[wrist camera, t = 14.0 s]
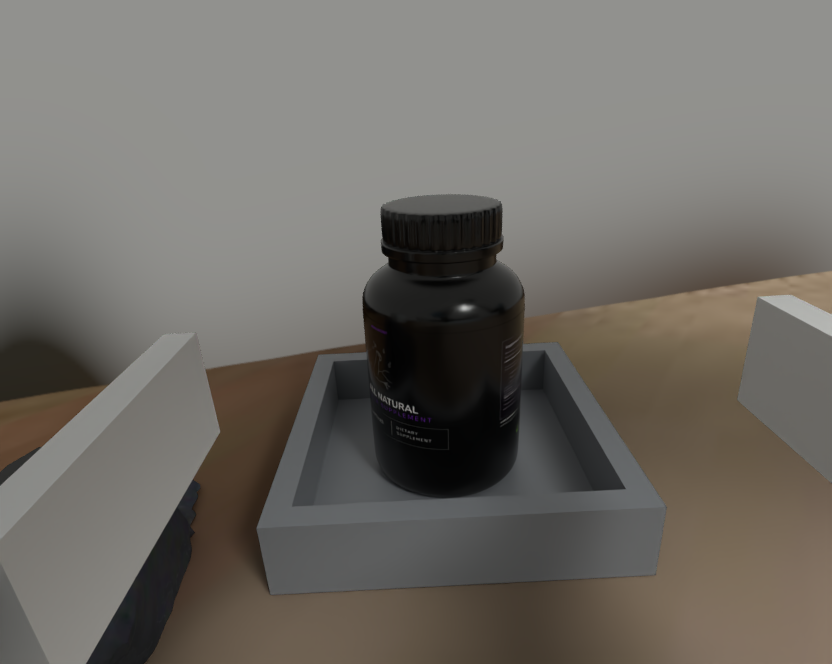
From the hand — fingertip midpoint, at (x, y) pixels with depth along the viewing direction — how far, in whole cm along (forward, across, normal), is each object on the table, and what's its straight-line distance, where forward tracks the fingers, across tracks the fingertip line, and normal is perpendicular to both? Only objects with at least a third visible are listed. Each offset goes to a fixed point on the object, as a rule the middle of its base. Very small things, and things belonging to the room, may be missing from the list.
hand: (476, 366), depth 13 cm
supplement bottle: (+10, 0, -10) cm, 14 cm away
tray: (+10, 0, -10) cm, 14 cm away
